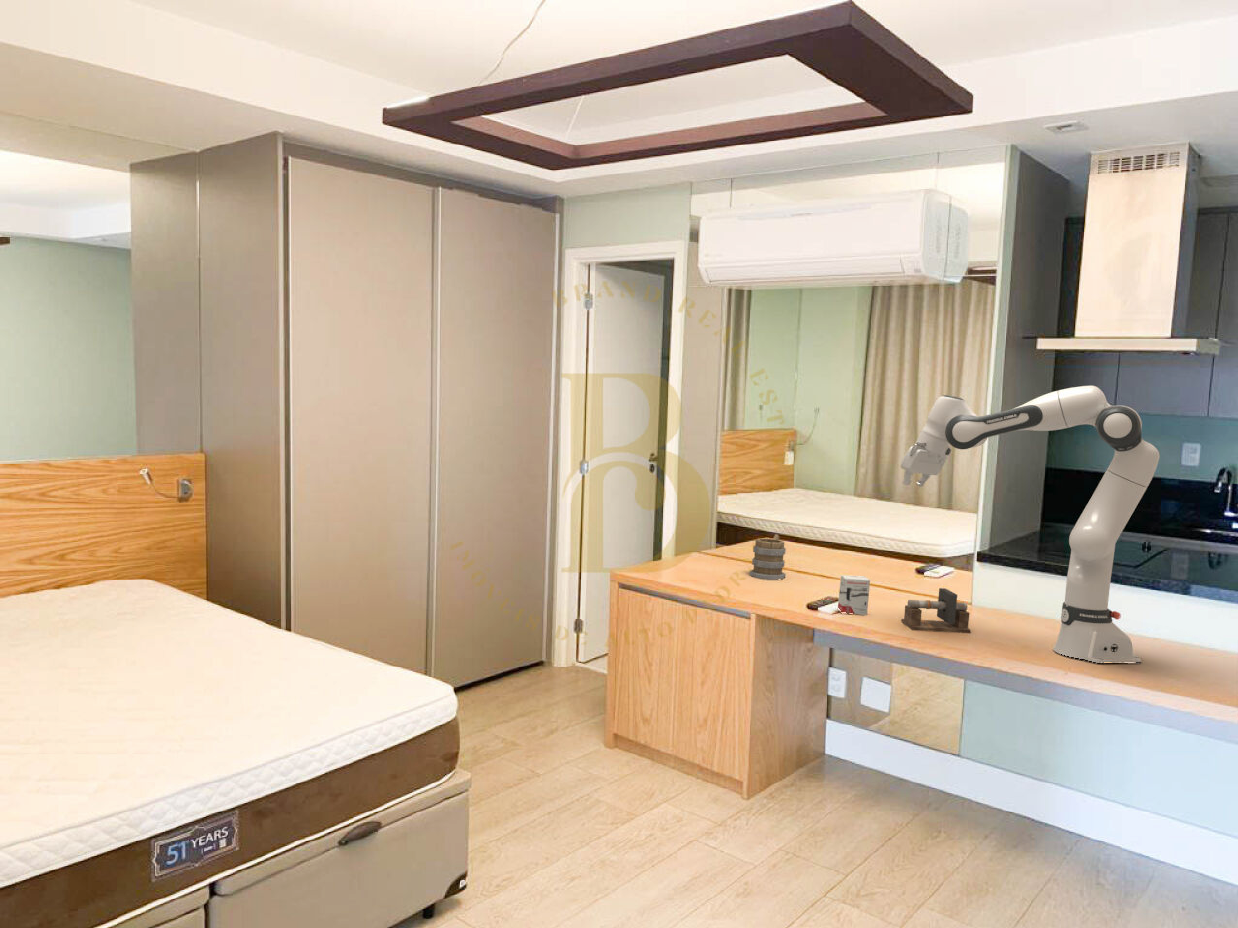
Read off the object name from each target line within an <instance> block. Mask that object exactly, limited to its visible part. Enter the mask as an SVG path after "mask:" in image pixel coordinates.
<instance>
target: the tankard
mask: <svg viewBox="0 0 1238 928" xmlns="http://www.w3.org/2000/svg"><path fill="white" fill-rule="evenodd" d="M752 547H753V548H752V549H753V550H752V552H753V553H754V557H753V558H752V559H751V560H752V562H751V565H753V568H752V570H749V573H748V574H749V576H751V577H752V578H755V579H758V580H759V579H760V580H765V579H766V581H779V580H778V579H782V578H784V577H785V578H786V573H785V572H783V568H784V567H785V564H786V563H785V562H786V561H785V560H784V556H785V555H786V547H785V541H783V540H780V536H779V534H777V533H775V534H774V536H773V538H765V537H764V538H763V537H762V538H756V539H755V543H754V545H753V546H752ZM785 578H784V579H785ZM782 580H783V579H782Z"/></svg>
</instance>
